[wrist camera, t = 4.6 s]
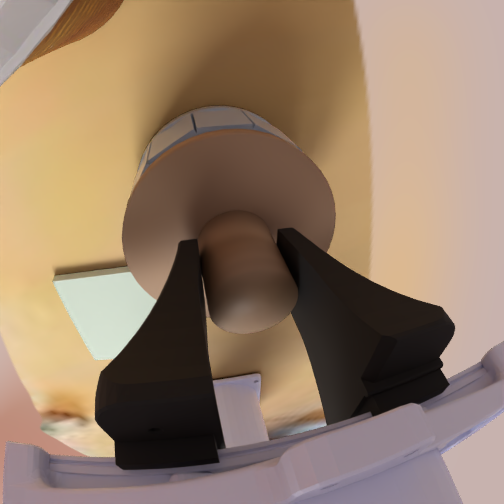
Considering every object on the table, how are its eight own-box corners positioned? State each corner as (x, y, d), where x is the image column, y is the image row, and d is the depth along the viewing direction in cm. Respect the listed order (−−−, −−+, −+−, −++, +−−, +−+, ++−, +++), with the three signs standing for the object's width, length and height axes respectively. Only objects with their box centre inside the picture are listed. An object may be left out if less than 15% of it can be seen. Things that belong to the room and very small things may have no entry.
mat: (197, 344, 26) (197, 349, 25) (95, 354, 24) (95, 360, 23) (181, 259, 20) (182, 265, 20) (54, 275, 18) (52, 281, 18)
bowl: (287, 238, 21) (308, 278, 18) (150, 255, 19) (149, 301, 16) (296, 103, 16) (329, 121, 12) (126, 115, 14) (112, 137, 11)
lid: (306, 296, 17) (337, 358, 14) (138, 312, 15) (139, 385, 12) (346, 135, 12) (410, 180, 9) (113, 132, 10) (86, 183, 7)
